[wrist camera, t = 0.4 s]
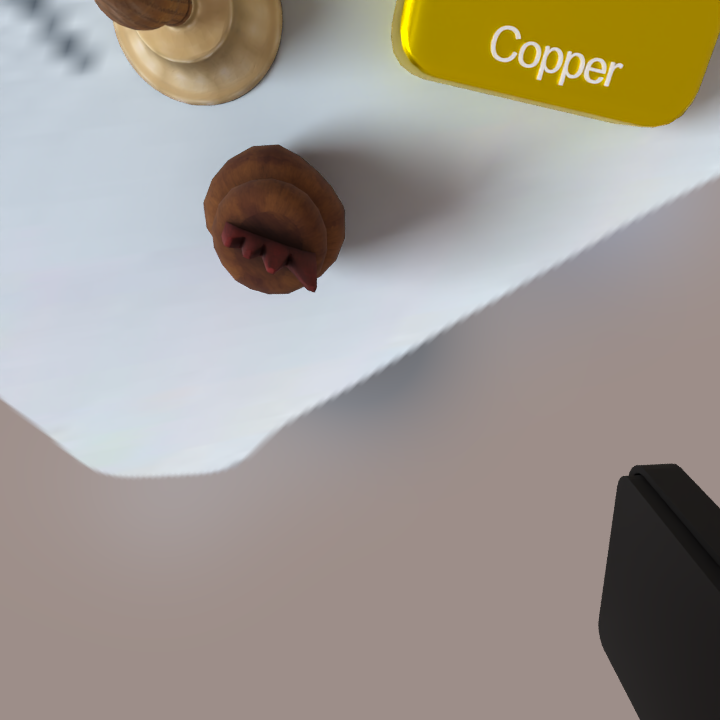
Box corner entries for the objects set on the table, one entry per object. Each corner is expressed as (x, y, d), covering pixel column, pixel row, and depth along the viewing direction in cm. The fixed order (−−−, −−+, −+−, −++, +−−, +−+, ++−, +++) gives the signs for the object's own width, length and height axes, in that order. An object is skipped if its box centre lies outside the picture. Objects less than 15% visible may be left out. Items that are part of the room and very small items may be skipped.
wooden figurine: (361, 206, 38) (389, 275, 24) (292, 281, 39) (280, 387, 26) (268, 117, 36) (239, 135, 22) (198, 198, 37) (130, 264, 24)
